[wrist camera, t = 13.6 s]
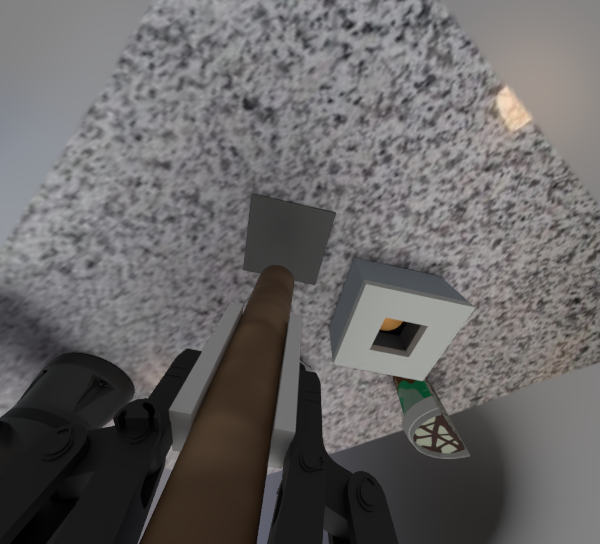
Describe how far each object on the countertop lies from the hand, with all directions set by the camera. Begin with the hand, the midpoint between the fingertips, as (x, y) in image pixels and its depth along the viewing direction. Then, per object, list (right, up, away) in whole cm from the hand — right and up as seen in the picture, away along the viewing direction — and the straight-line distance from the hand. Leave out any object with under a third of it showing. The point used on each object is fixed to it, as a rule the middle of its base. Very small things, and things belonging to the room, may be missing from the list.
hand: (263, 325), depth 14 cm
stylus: (0, +3, +5) cm, 6 cm away
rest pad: (+1, +7, +14) cm, 16 cm away
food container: (+21, -15, +25) cm, 36 cm away
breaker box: (+14, -1, +18) cm, 23 cm away
